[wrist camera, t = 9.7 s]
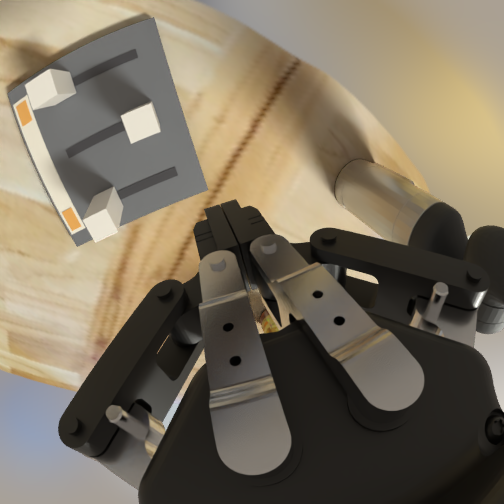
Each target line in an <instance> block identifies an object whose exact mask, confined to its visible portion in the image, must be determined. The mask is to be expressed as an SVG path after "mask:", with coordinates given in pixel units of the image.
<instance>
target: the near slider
mask: <svg viewBox="0 0 504 504" xmlns="http://www.w3.org/2000/svg"><path fill="white" fill-rule="evenodd" d="M25 87H26V91H27V94H28V97H29V100H30V103H31V106H32V109H33V110H36V109H40V108H44V107H49V106H54V105H56V104H58V103H60V102H62V101H63V100H65V99H67V98H69V97H70V96H72V95H74V94H76V90H75V87H74V84H73V81H72V78H71V74H70V72H67V71H61V70H55V69H48V70H47V71H45V72H44V73H42V74H40V75H39V76H37V77H36V78H34V79H33V80H31V81H30V82H28V83H27V84H26V85H25Z"/></svg>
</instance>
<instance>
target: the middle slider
mask: <svg viewBox="0 0 504 504" xmlns="http://www.w3.org/2000/svg"><path fill="white" fill-rule="evenodd" d="M121 118H122V121H123V124H124V126H125V129H126V132H127V134H128V137H129V140H130V142H131V144H132V143H134V142H137V141H139V140H141V139H144V138H146V137H149V136H151V135H154V134H156V133H159V132H161V131H160V123H159V120H158V117H157V115H156V112H155V109H154V106H153V103H152V101H151V102H149V103H146V104H144V105H141V106H139V107H136V108H134V109H132V110H129V111H127V112H126V113H124V114H123V115H121Z"/></svg>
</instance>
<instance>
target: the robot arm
mask: <svg viewBox="0 0 504 504" xmlns="http://www.w3.org/2000/svg"><path fill="white" fill-rule="evenodd" d="M335 195H336V199H337V201H338V202H339V204H340V205H341V206H343V207H344V208H345V209H347V210H348V211H349V212H350V213H352V214H353V215H354V216H356V217H357V218H358V219H359V220H361V221H362V222H363V223H365V224H366V225H367V226H368V227H370V228H371V229H372V230H373V231H375V232H376V233H377V234H378V235H380V236H381V237H382V238H383V239H385V240H383V239H379V238H375V237H371V236H366V235H362V234H358V233H353V232H349V231H345V230H340V229H336V228H323V229H319V230H317V231H315V232H314V233H313V234H312V235H311V236H310V242H305V243H289V242H288V241H287V240H286V239H285V238H284V237H282V236H280V235H276V234H275V233H274V231H273V230H272V229H271V227H270V226H269V224H268V223H267V222H266V220H265V219H264V217H263V216H262V215H261V213H260V212H259V211H258V209H256V208H254V207H252V206H247V207H244V208H241V207H240V205H239V204H238V202H237V200H236V199H235V200H231V201H228V202H225V203H222V204H220V205H221V207H220V205H216V206H213V207H210V208H206V209H204V210H205V213H206V217H207V220H204V221H201V222H198V223H196V225H195V227H194V229H193V231H194V235H195V240H196V244H197V248H198V252H199V256H200V260H201V261H200V263H199V272H198V273H197V274H196V275H195V276H194V277H193V278H192V279H191V280H189V281H187V282H186V283H184V284H182V283H181V282H180V281H178V280H165V281H162V282H160V283H158V284H157V285H155V286H154V287H153V288H152V289H151V290H150V291H149V293H148V294H147V295H146V297H145V298H144V299H143V301H142V302H141V303H140V304H139V306H138V307H137V308H136V310H135V311H134V312H133V314H132V315H131V316H130V318H129V319H128V320H127V322H126V323H125V324H124V326H123V327H122V329H121V330H120V331H119V333H118V334H117V335H116V337H115V338H114V340H113V341H112V342H111V344H110V345H109V346H108V348H107V349H106V351H105V352H104V354H103V355H102V356H101V358H100V359H99V361H98V362H97V364H96V365H95V366H94V368H93V369H92V371H91V372H90V374H89V375H88V377H87V378H86V380H85V381H84V383H83V384H82V386H81V387H80V389H79V390H78V392H77V393H76V395H75V396H74V398H73V400H72V401H71V402H70V404H69V406H68V407H67V409H66V410H65V412H64V414H63V415H62V417H61V419H60V421H59V427H58V431H59V436H60V439H61V440H62V442H63V443H64V444H65V445H66V446H68V447H70V448H72V449H74V450H76V451H78V452H80V453H82V454H83V455H84V456H86V457H89V458H91V459H93V460H95V461H98V462H100V463H101V464H102V465H104V466H105V467H106V468H107V469H109V470H110V471H111V472H113V473H114V474H115V475H117V476H118V477H120V478H121V479H122V480H124V481H125V482H127V483H128V484H130V485H131V486H133V487H134V488H136V489H137V490H139V492H138V498H139V504H504V412H503V411H502V409H501V407H500V405H499V402H498V400H497V396H496V393H495V390H494V385H493V379H492V374H491V370H490V367H489V365H488V363H487V361H486V360H485V358H484V357H483V356H482V355H481V354H480V353H479V352H478V351H477V350H476V349H474V342H475V333H476V331H477V332H480V333H483V334H493V333H496V332H499V331H501V330H502V329H504V228H502V227H497V226H483V227H480V228H478V229H477V230H475V231H474V232H473V233H472V235H471V236H470V238H469V240H468V238H467V235H466V232H465V228H464V223H463V220H462V217H461V215H460V214H459V213H458V211H456V210H455V209H454V208H452V207H451V206H449V205H447V204H446V203H444V202H443V201H441V200H439V199H438V198H436V197H434V196H433V195H431V194H429V193H427V192H426V191H424V190H422V189H420V188H419V187H417V186H415V185H414V183H413V181H411V180H409V179H407V178H406V177H404V176H402V175H400V174H398V173H396V172H394V171H392V170H390V169H388V168H386V167H384V166H382V165H380V164H378V163H376V162H374V163H371V162H369V161H366V160H363V159H357V160H354V161H352V162H350V163H348V164H347V165H346V166H345V167H344V168H343V169H342V170H341V172H340V174H339V175H338V178H337V180H336V185H335ZM347 268H348V269H352V270H355V271H359V272H362V273H366V274H369V275H372V276H374V277H375V278H376V279H377V280H378V283H379V284H375V283H371V282H368V281H364V280H361V279H357V278H354V277H350V276H347V275H346V271H347ZM248 282H249V283H248ZM249 284H250V287H251V289H252V290H254V289H257V288H258V289H259V291H260V294H261V298H262V302H263V304H264V306H265V307H266V309H267V311H268V312H269V314H270V316H271V318H272V319H273V321H274V323H275V324H276V326H277V328H278V329H279V331H277V332H271V333H264V334H259V332H258V329H257V326H256V322H255V319H254V316H253V312H252V309H251V306H250V298H249V295H248V291H250V287H249ZM168 335H169V336H168ZM167 336H168V338H167ZM166 338H167V339H166ZM165 339H166V341H165ZM164 341H165V343H164V344H163V342H164ZM162 344H163V346H162ZM161 346H162V347H161ZM160 347H161V349H160ZM159 349H160V350H159ZM203 349H204V352H205V360H206V363H205V364H204V365H203V366H202V367H201V368H200V369H199V370H198V372H197V373H196V374H195V376H194V377H193V379H192V381H191V382H190V384H189V386H188V388H187V390H186V392H185V394H184V396H183V398H182V400H181V402H180V404H179V406H178V408H177V410H176V412H175V414H174V416H173V418H172V420H171V422H170V424H169V426H168V428H167V430H166V432H165V428H164V425H163V424H162V422H163V420H164V418H165V417H166V415H167V413H168V411H169V409H170V408H171V406H172V404H173V402H174V401H175V399H176V397H177V395H178V393H179V392H180V390H181V388H182V386H183V385H184V383H185V381H186V379H187V377H188V376H189V374H190V372H191V370H192V368H193V367H194V365H195V363H196V361H197V359H198V358H199V356H200V354H201V352H202V350H203ZM158 350H159V352H158ZM157 352H158V354H157Z"/></svg>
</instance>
